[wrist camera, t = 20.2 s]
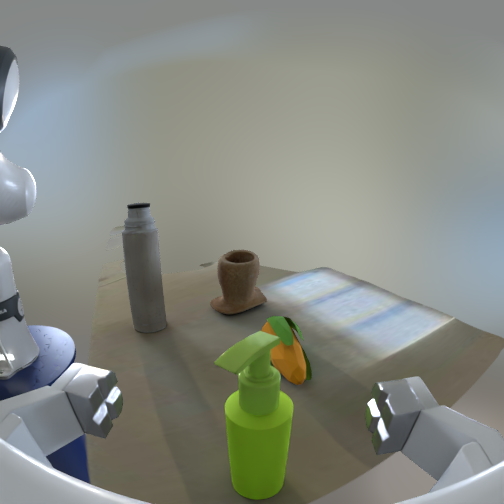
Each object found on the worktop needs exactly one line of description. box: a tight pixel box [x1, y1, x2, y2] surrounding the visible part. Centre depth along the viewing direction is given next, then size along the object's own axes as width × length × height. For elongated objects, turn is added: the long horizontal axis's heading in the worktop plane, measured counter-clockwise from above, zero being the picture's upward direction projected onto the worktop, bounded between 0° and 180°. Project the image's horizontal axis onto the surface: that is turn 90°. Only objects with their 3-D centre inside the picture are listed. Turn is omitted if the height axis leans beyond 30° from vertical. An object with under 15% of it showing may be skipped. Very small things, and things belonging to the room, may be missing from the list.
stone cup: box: [210, 250, 267, 314], centre depth 74 cm, size 15×12×15 cm
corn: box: [261, 316, 311, 385], centre depth 49 cm, size 7×8×20 cm
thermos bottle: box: [122, 203, 167, 333], centre depth 61 cm, size 8×8×28 cm
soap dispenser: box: [214, 331, 293, 500], centre depth 23 cm, size 6×7×20 cm
